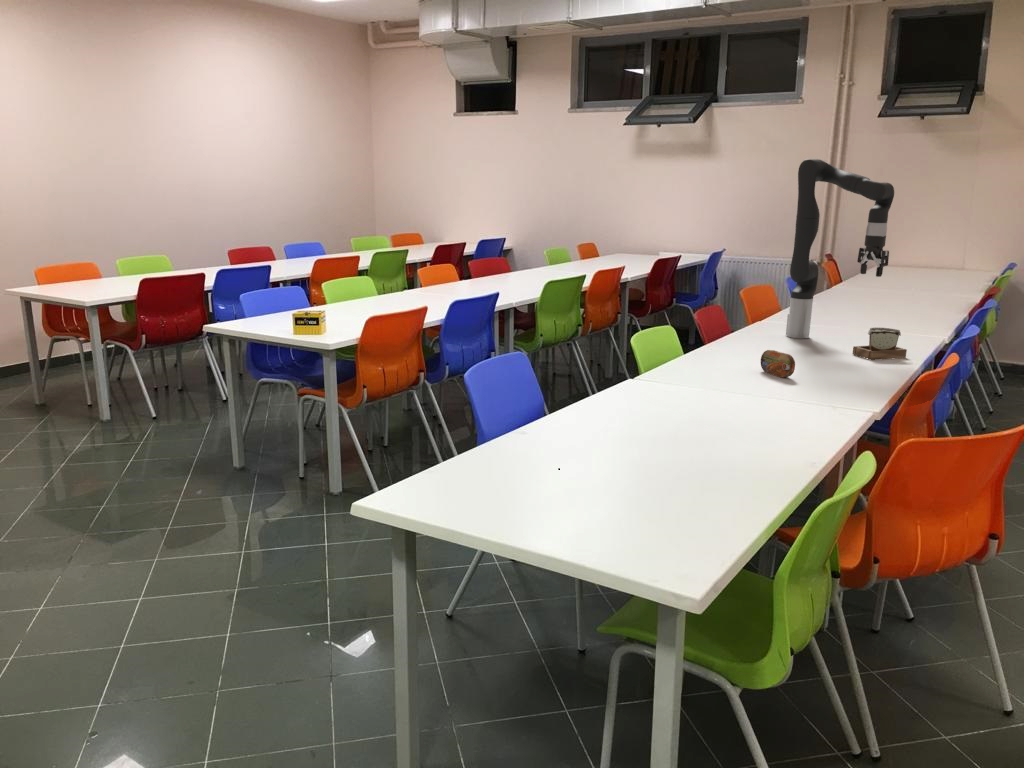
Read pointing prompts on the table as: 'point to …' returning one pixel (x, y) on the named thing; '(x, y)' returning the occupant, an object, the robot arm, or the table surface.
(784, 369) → the tin
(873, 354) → the holder
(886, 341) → the food container
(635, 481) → the table surface
